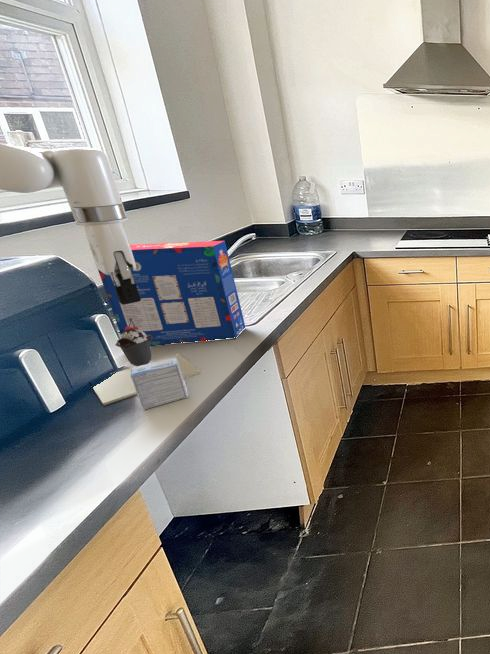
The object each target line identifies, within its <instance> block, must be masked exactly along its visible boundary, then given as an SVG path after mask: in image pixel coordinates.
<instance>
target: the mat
mask: <svg viewBox="0 0 490 654" xmlns="http://www.w3.org/2000/svg"><path fill="white" fill-rule="evenodd" d="M171 358H177V360H178V363H179V366H180V369H181V373H182V376H183V379H188V378H190V377H194V376H196V375H200V374H201V371H200V370H199V369H198V368H197V367H196V366H194V365H193V364H192V363H191V362H190V361H189V360H187V359H186V358H185V357H184V356H183V355H181V354H180V353H176V354H173V355H170V356H166V357H163V358H160V359H156V360H153V361H150V362H149V363H154V362H158V361H162V360H166V359H171ZM149 363H148V364H149ZM133 367H134V366H132V367H129V368H126V369H122V370H119V371H115V372H116V373H115V372H114V373H115V374H113V375H112V376H111V377H109V378H108V379H106V380H104V381H103V382H101V383H100V384H97V385H96V386H94V387H93V388H92V389H93V391H94V392H95V394H96V396H97V397H98V399H99V401H100V402H101V403H102V405H103V406H107V405H110V404H112V403H115V402H119V401H122V400H124V399H128V398H131V397H135V396H138V395H137V392H136V389H135V386H134V383H133V381H132V378H131V370H132V368H133ZM135 367H137V366H135Z"/></svg>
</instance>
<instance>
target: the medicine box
mask: <svg viewBox="0 0 490 654" xmlns="http://www.w3.org/2000/svg"><path fill="white" fill-rule="evenodd" d="M132 367H133V368H132ZM132 367H131V368H132V370H131V378H132V381H133V383H134V386H135V389H136V392H137V395H136V396H137V398H138V400H139V402H140V406H141V408H142V410H143V411H145V410H147V409H151V408H155V407H158V406H162V405H166V404H169V403H173V402H176V401H179V400H182V399H187V398H189V394H188V389H187V386H186V382H185V380H184V379H183V376H182V373H181V369H180V366H179V363H178V360H177V358H171V359H166V360H162V361H158V362H154V363H149V364H145V365H141V366H137V367H136V366H132Z"/></svg>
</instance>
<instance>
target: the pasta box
mask: <svg viewBox="0 0 490 654" xmlns="http://www.w3.org/2000/svg"><path fill="white" fill-rule="evenodd" d="M226 244H227V243H226V241H225V240H212V241H211V240H210V241H188V242H187V241H186V242H185V241H183V242H162V243H160V242H159V243H158V242H157V243H140V244H139V243H137V244H129V245H130V247H131V251H132V254H133V257H134V260H135V264H136V269H135V270H134V271H132V270H131V273H132V276H133V279H134V283H136V286H137V289H138V292H139V295H140V298H141V301H139V302H135V303H130V304H125V305H122V304H121V303H120V302H119V299H118V297H117V294H116V291H115V288H114V283H113V280H112V278H111V275H106V274H104V273H102V272H101V271H100V270H98V269H97V271H98V273H99V277H100V280H101V282H102V285H103V288H104V291H105V294H106V297H107V299H108V302H109V305H110V309H111V311H112V314H113V317H114V319H115V322H116V325H117V328H118V331H119V334H120V336H121V335H122V333H123V332H124V331H125V328H126V327H128V326H129V325H130V327H131V328H132V327H134V325H135V327H138V330H139V331H142V332H144V333H146V335H152V337H153V339H152V340H151V341H150V347H157V346H156V345H162V346H166V345H165V344H171V343H181V342H182V343H183V342H195V341H206V340H207V341H208V340H215V339H226V338H234V337H235V338H236V337H237V336H238V335H239V333H240V332H241V331H242V330H243V329H244V328H245V327H246V324H245V320H244V315H243V312H242V306H241V303H240V298H239V295H238V289H237V285H236V281H235V278H234V274H233V270H232V265H231V260H230V257H229V253H228V247H227V245H226ZM130 318H132V321H131V324H130V320H129V319H130ZM132 322H133V323H134V325H133V323H132ZM239 336H240V335H239ZM208 342H209V341H208Z"/></svg>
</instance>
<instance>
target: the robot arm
mask: <svg viewBox="0 0 490 654" xmlns="http://www.w3.org/2000/svg"><path fill="white" fill-rule="evenodd" d="M53 188H62V189H63V192H64V195H65V197H66V200H67V202H68V205H69V207H70V211H71V214H72V216H73V219H74V220H75V221H74V222H75V224H76V225H77V226H83V228H84V232H85V236H86V239H87V243H88V246H89V248H90V251H91V255H92V257H93V260H94V264H95V268H96V269H97V271H98V270H100V271H101V272H102V273H104V274H106V275H111V278H112V280H113V283H114V288H115V291H116V294H117V297H118V299H119V302H120V303H121V304H122V305H125V304H130V303H135V302H139V301H141V298H140V295H139V292H138V289H137V286H136V283H134V279H133V276H132V273H131V270H132V271H134V270H135V269H136V264H135V260H134V257H133V254H132V251H131V247H130V245H131V244H130V242H129V239H128V237H127V233H126V231H125V228H124V226H123V222H127V221H129V220H128V219H129V218H128V216H127V212H126V209H125V206H124V204H123V200H122V197H121V194H120V191H119V188H118V186H117V182H116V178H115V176H114V173H113V170H112V167H111V164H110V160H109V157H108V155H107V154H106V153H105V151H103V150H101V149H98V148H91V147H89V148H88V147H66V148H57V149H45V148H44V149H42V148H32V147H24V146H14V145H10V144H6V143H1V142H0V190H1V191H6V192H12V193H20V194H31V193H36V192H40V191H43V190H48V189H53Z"/></svg>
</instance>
